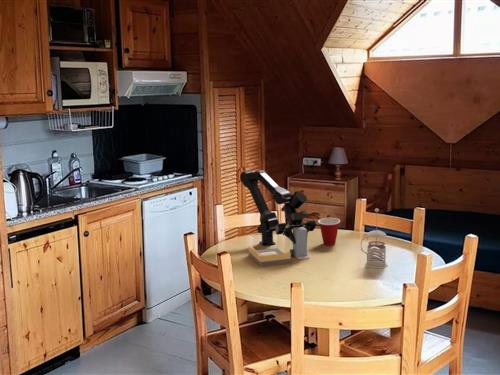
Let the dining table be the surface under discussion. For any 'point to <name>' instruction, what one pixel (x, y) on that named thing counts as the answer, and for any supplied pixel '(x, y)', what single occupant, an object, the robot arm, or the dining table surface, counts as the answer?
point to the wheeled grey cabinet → (300, 243)
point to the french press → (375, 249)
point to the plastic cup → (329, 230)
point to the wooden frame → (269, 256)
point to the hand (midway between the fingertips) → (300, 242)
